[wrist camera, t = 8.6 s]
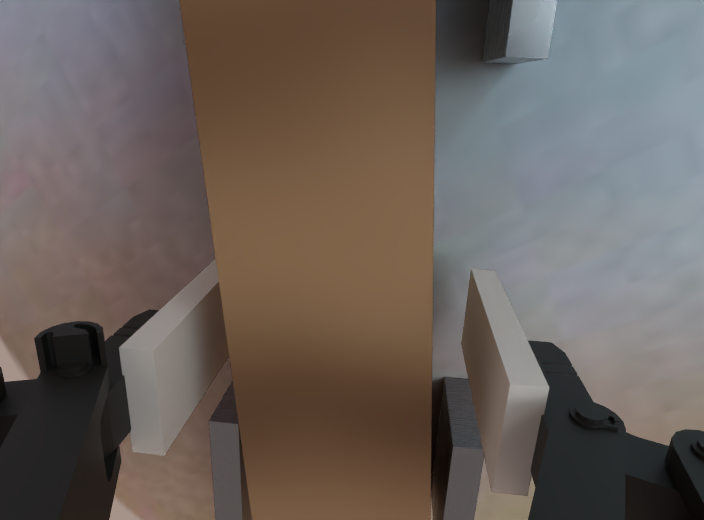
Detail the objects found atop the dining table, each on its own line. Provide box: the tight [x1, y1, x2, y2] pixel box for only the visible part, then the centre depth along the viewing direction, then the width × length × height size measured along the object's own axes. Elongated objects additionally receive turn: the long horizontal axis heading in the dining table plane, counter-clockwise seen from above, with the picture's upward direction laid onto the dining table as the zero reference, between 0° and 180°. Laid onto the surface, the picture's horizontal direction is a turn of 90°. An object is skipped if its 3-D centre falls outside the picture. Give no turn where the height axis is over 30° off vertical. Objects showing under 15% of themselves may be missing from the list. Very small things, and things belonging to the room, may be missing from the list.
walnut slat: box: [179, 0, 436, 520], centre depth 15 cm, size 22×4×8 cm, turn 2°
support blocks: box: [209, 377, 484, 520], centre depth 19 cm, size 6×9×4 cm, turn 88°
